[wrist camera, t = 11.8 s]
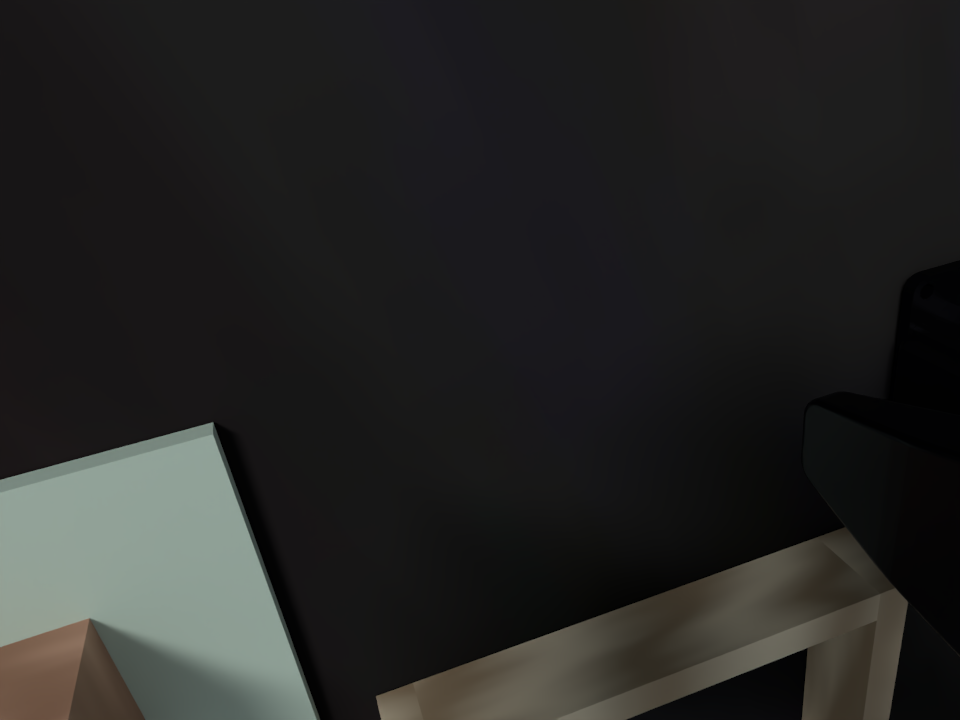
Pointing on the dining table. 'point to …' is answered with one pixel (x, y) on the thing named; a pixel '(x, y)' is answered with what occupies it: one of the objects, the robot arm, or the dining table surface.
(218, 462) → the sage board
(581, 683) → the pine frame
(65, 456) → the dining table surface
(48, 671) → the terracotta block
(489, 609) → the dining table surface
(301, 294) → the dining table surface
